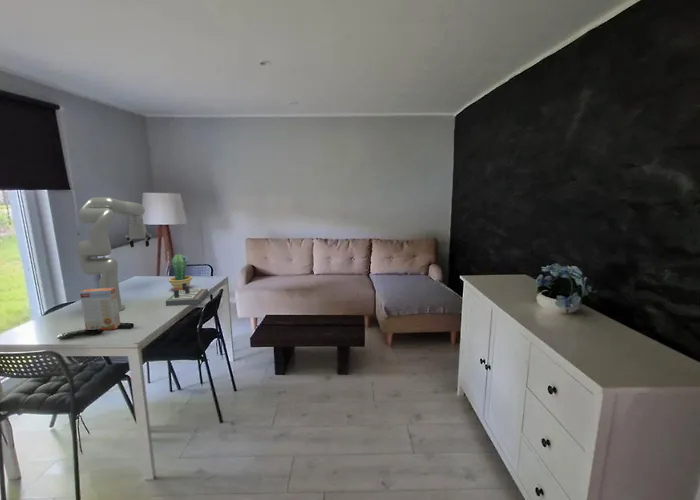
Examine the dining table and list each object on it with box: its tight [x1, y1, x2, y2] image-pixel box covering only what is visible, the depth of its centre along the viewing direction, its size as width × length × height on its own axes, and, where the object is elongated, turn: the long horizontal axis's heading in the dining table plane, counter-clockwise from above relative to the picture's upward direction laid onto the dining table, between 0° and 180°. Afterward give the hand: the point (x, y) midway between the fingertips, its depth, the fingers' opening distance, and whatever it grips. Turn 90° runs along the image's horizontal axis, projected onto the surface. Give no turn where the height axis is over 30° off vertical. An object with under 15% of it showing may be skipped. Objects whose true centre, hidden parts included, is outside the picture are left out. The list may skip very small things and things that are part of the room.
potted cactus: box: [168, 253, 193, 291], centre depth 249 cm, size 15×15×25 cm
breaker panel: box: [165, 283, 209, 307], centre depth 227 cm, size 23×19×8 cm
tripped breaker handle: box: [185, 285, 191, 293], centre depth 226 cm, size 2×2×4 cm
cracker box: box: [79, 287, 121, 331], centre depth 179 cm, size 14×6×21 cm, turn 96°
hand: (139, 246), depth 247 cm, fingers open, 9 cm apart
